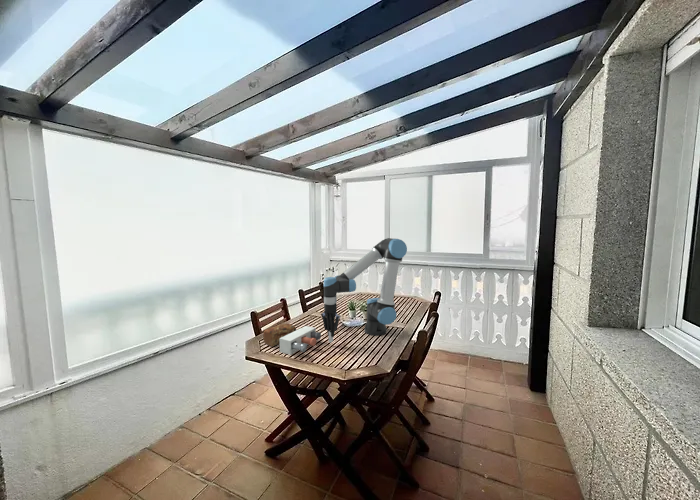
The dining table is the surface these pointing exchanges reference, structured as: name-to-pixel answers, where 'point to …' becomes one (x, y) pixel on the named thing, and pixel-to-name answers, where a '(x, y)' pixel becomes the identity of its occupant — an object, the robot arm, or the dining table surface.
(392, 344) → the dining table surface
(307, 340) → the red plug
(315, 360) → the dining table surface
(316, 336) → the grey plug
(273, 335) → the bread
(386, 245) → the robot arm
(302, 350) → the steel plug
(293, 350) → the socket block
